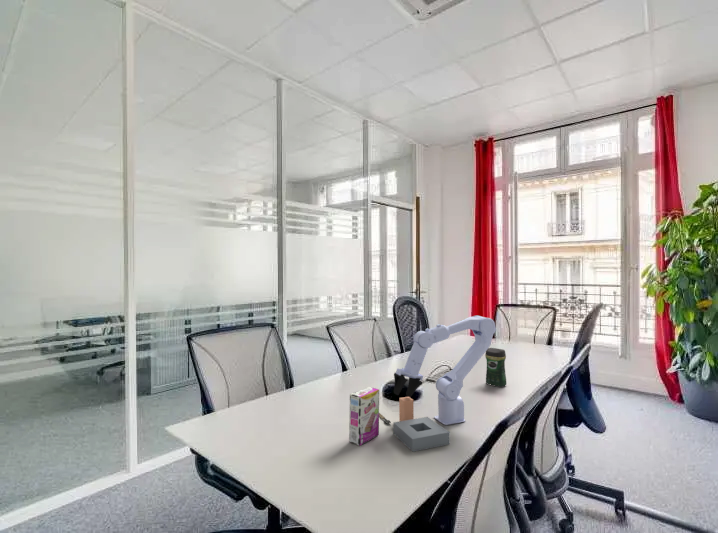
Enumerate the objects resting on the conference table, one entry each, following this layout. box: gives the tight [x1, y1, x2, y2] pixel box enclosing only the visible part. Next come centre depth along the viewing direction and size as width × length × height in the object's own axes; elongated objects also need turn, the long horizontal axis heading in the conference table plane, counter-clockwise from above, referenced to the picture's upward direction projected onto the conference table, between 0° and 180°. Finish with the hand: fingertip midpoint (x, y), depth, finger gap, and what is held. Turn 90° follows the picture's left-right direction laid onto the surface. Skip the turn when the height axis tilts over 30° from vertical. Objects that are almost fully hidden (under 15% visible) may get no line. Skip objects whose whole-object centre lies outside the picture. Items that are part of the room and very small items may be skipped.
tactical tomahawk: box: [379, 412, 392, 424], centre depth 147 cm, size 21×7×1 cm, turn 18°
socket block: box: [392, 416, 450, 452], centre depth 126 cm, size 14×14×4 cm
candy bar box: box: [348, 386, 380, 447], centre depth 126 cm, size 11×5×16 cm, turn 141°
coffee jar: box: [484, 347, 507, 388], centre depth 186 cm, size 10×8×19 cm
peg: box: [398, 396, 415, 422], centre depth 140 cm, size 4×4×9 cm
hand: (402, 395), depth 139 cm, fingers open, 7 cm apart
